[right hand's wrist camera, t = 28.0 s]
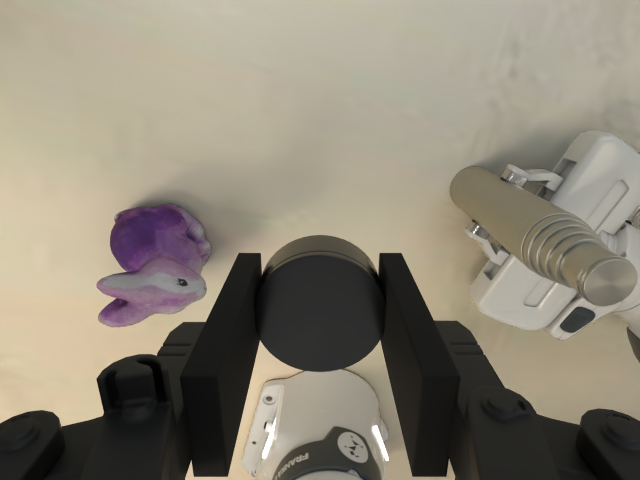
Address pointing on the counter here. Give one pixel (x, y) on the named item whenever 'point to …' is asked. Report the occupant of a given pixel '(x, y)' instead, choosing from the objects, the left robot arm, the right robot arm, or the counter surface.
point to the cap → (320, 304)
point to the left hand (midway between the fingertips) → (486, 200)
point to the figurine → (154, 264)
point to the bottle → (544, 237)
